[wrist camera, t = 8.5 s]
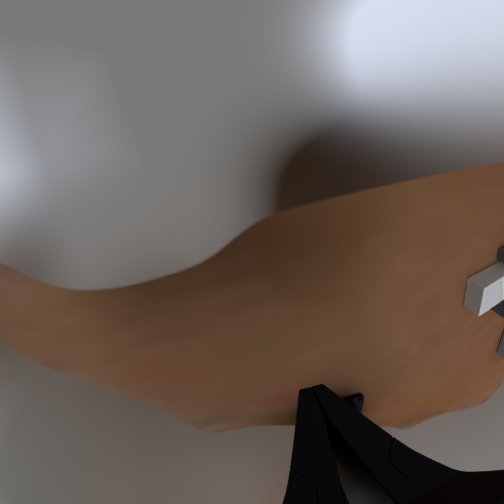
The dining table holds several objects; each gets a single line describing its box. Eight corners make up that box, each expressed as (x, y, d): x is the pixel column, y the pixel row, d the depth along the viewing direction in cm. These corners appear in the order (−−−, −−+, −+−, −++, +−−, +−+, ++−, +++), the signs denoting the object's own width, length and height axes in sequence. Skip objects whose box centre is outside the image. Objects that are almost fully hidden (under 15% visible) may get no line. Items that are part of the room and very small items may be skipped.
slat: (512, 273, 25) (527, 281, 22) (462, 304, 25) (478, 316, 22) (516, 249, 24) (531, 257, 21) (466, 277, 24) (483, 288, 21)
